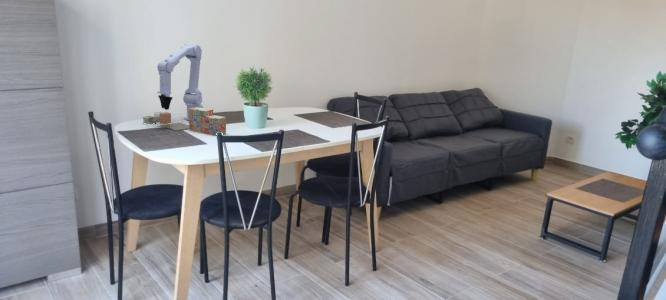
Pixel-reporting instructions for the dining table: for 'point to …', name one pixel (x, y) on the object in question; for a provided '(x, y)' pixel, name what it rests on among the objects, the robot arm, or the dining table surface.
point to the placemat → (176, 126)
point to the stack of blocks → (206, 121)
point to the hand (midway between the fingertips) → (165, 108)
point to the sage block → (149, 119)
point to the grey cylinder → (157, 116)
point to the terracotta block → (165, 117)
